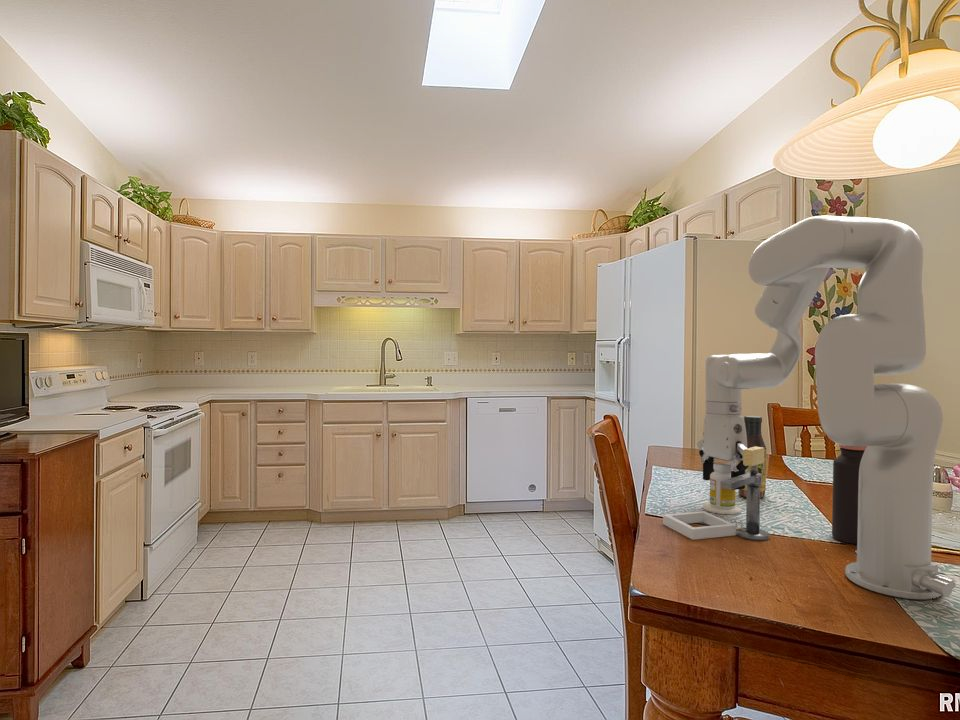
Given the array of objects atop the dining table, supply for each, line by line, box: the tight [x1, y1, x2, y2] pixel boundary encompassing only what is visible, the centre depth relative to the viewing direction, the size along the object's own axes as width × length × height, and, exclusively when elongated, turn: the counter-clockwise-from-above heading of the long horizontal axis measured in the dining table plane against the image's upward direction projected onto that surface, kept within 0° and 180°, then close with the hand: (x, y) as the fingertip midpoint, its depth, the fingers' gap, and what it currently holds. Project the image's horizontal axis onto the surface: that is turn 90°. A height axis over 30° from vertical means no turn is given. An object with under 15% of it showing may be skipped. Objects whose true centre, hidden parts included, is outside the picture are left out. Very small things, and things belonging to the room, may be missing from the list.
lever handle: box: [721, 446, 764, 490], centre depth 112 cm, size 3×14×7 cm, turn 130°
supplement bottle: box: [709, 462, 736, 509], centre depth 132 cm, size 5×5×10 cm
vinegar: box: [831, 444, 867, 546], centre depth 112 cm, size 7×7×20 cm
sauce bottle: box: [738, 415, 767, 499], centre depth 144 cm, size 7×6×20 cm
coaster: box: [702, 500, 742, 515], centre depth 133 cm, size 8×8×1 cm
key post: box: [735, 484, 771, 542], centre depth 115 cm, size 6×6×10 cm
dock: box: [662, 510, 737, 541], centre depth 118 cm, size 10×10×2 cm
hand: (723, 484), depth 132 cm, fingers open, 9 cm apart
